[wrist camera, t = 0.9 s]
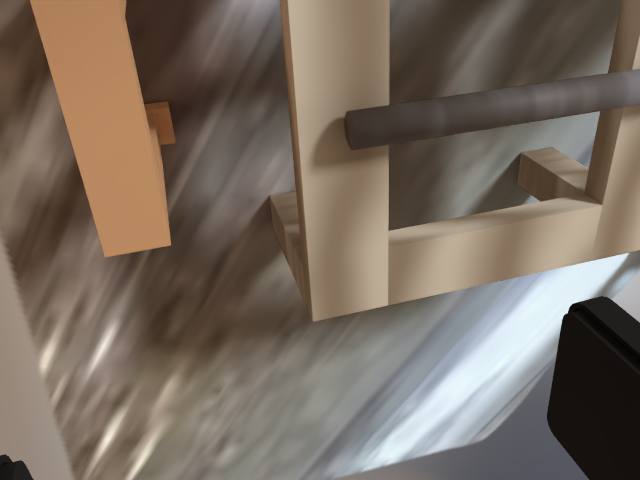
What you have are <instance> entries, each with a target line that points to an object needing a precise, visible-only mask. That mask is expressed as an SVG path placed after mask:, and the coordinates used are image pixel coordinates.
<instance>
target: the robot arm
mask: <svg viewBox="0 0 640 480" xmlns="http://www.w3.org/2000/svg"><path fill="white" fill-rule="evenodd" d="M547 420H548V425H549V427H550V430H551V432H552V433H553V435H554V436H555V437H556V438H557V440H558V441H559V442H560V444H561V445H562V446H563V447H564V449H565V450H566V451H567V452H568V453H569V455H570V456H571V457H572V459H573V460H574V461H575V462H576V464H577V465H578V466H579V467H580V469H581V470H582V471H583V472H584V473H585V475H586V476H587V477H588V479H589V480H640V323H639V322H638V321H637V320H636V319H634V318H633V317H632V316H631V315H629V314H628V313H627V312H626V311H625V310H623V309H622V308H621V307H619V306H618V305H617V304H616V303H615V302H613V301H612V300H611V299H609V298H607V297H604V296H601V297H597V298H593V299H589V300H585V301H582V302H578V303H574V304H572V305H571V306H570V308H569V311H568V314H565V315H564V317H563V320H562V325H561V331H560V338H559V344H558V350H557V356H556V362H555V370H554V376H553V381H552V388H551V394H550V400H549V406H548V412H547ZM0 480H33V478H32V477H31V474H30V473H29V470H28V469H27V467H26V465H25V464H24V462H23V461H21V460H20V461H16V462H12V460H11V459H10V458H9V456H7V455H1V456H0Z"/></svg>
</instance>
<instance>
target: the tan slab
mask: <svg viewBox="0 0 640 480" xmlns="http://www.w3.org/2000/svg"><path fill="white" fill-rule="evenodd" d="M30 2H31V6H32V9H33V12H34V16H35V19H36V23H37V26H38V29H39V33H40V36H41V40H42V43H43V47H44V50H45V53H46V57H47V60H48V64H49V67H50V71H51V74H52V77H53V81H54V84H55V88H56V91H57V94H58V98H59V101H60V105H61V108H62V112H63V115H64V118H65V122H66V125H67V129H68V132H69V136H70V139H71V142H72V146H73V149H74V153H75V156H76V159H77V163H78V166H79V170H80V173H81V177H82V180H83V183H84V187H85V190H86V194H87V197H88V200H89V204H90V207H91V211H92V214H93V218H94V221H95V224H96V228H97V231H98V235H99V238H100V242H101V245H102V248H103V252H104V255H105V257H110V256H115V255H121V254H126V253H132V252H137V251H143V250H148V249H154V248H159V247H165V246H170V245H171V240H170V230H169V221H168V211H167V202H166V192H165V182H164V173H163V163H162V154H161V145H166V144H173V143H176V141H175V135H174V130H173V125H172V120H171V115H170V110H169V104H168V101H165V102H157V103H150V104H144V103H143V98H142V94H141V89H140V84H139V80H138V75H137V70H136V66H135V61H134V57H133V52H132V47H131V43H130V38H129V34H128V29H127V24H126V20H125V10H126V0H30Z"/></svg>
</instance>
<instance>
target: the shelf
mask: <svg viewBox="0 0 640 480" xmlns="http://www.w3.org/2000/svg"><path fill="white" fill-rule="evenodd" d="M280 9H281V21H282V33H283V45H284V56H285V68H286V80H287V91H288V103H289V115H290V126H291V138H292V150H293V161H294V173H295V185H296V191H293V192H287V193H282V194H276V195H270V203H271V212H272V221H273V229H274V232H275V234H276V236H277V239H278V241H279V243H280V246H281V248H282V250H283V253H284V255H285V257H286V260H287V262H288V264H289V267H290V269H291V271H292V274H293V276H294V278H295V281H296V283H297V285H298V288H299V290H300V292H301V295H302V297H303V299H304V302H305V304H306V306H307V309H308V311H309V313H310V316H311V318H312V320H313V322H315V321H319V320H324V319H328V318H333V317H337V316H342V315H347V314H351V313H356V312H360V311H365V310H369V309H374V308H378V307H383V306H388V305H392V304H397V303H401V302H406V301H410V300H415V299H420V298H424V297H429V296H433V295H438V294H442V293H447V292H451V291H456V290H461V289H465V288H470V287H474V286H479V285H483V284H488V283H492V282H497V281H502V280H506V279H511V278H515V277H520V276H524V275H529V274H534V273H538V272H543V271H547V270H552V269H556V268H561V267H565V266H570V265H575V264H579V263H584V262H588V261H593V260H597V259H602V258H607V257H611V256H616V255H620V254H625V253H629V252H634V251H638V250H640V0H622V5H621V10H620V15H619V20H618V25H617V30H616V35H615V40H614V45H613V50H612V55H611V60H610V65H609V70H608V73H607V74H600V75H593V76H586V77H579V78H572V79H565V80H558V81H551V82H545V83H538V84H531V85H524V86H517V87H510V88H503V89H496V90H489V91H482V92H476V93H469V94H462V95H455V96H448V97H441V98H434V99H427V100H420V101H413V102H407V103H400V104H393V105H389V44H390V0H280ZM597 111H600V116H599V121H598V126H597V131H596V136H595V141H594V146H593V151H592V156H591V161H590V166H589V168H587V167H585V166H584V165H582V164H580V163H578V162H577V161H575V160H573V159H572V158H570V157H568V156H566V155H565V154H563V153H561V152H559V151H558V150H556V149H554V148H553V147H551V148H545V149H539V150H533V151H527V152H521V158H520V166H519V173H518V181H517V185H519V186H520V187H521V188H523V189H524V190H526V191H527V192H528V193H530V194H531V195H532V196H534V197H535V198H537V199H538V200H539V201H541V202H537V203H531V204H526V205H521V206H516V207H511V208H505V209H500V210H495V211H490V212H484V213H479V214H474V215H469V216H464V217H458V218H453V219H448V220H443V221H438V222H432V223H427V224H422V225H417V226H411V227H406V228H401V229H396V230H391V231H388V221H389V145H391V144H397V143H403V142H410V141H416V140H422V139H428V138H435V137H441V136H447V135H453V134H460V133H466V132H472V131H478V130H485V129H491V128H497V127H503V126H510V125H516V124H522V123H528V122H535V121H541V120H547V119H554V118H560V117H566V116H572V115H579V114H585V113H591V112H597Z"/></svg>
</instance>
